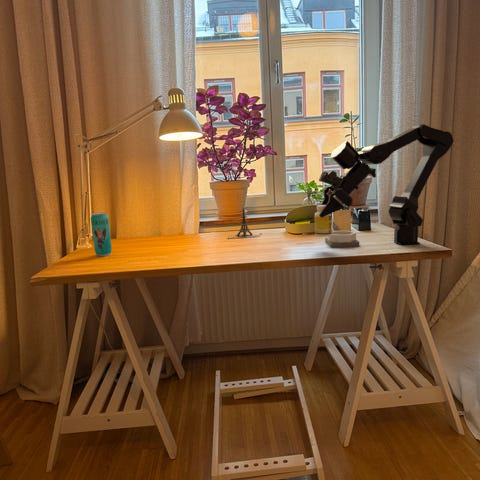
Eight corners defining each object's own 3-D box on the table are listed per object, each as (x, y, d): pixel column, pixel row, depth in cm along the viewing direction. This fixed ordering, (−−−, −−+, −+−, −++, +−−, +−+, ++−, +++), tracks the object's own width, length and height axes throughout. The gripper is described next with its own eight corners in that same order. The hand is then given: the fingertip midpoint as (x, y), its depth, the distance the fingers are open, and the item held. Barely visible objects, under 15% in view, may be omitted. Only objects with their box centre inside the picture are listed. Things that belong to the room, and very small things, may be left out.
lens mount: (351, 240, 142) (351, 229, 141) (359, 246, 133) (359, 234, 132) (325, 242, 142) (325, 231, 142) (330, 247, 133) (330, 235, 132)
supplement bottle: (332, 236, 125) (331, 206, 123) (314, 237, 126) (314, 206, 125) (331, 233, 130) (331, 204, 129) (315, 234, 132) (314, 204, 130)
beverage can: (94, 257, 137) (89, 214, 134) (95, 254, 142) (90, 213, 139) (112, 255, 138) (107, 213, 136) (112, 252, 144) (107, 211, 141)
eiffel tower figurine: (226, 240, 159) (224, 207, 157) (226, 236, 169) (224, 205, 167) (263, 238, 159) (261, 205, 157) (261, 234, 169) (260, 203, 167)
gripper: (328, 162, 133) (296, 196, 136) (341, 161, 115) (304, 201, 117) (351, 184, 134) (320, 218, 137) (368, 186, 116) (331, 226, 118)
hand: (318, 215), depth 127 cm, fingers closed on supplement bottle, 5 cm apart
